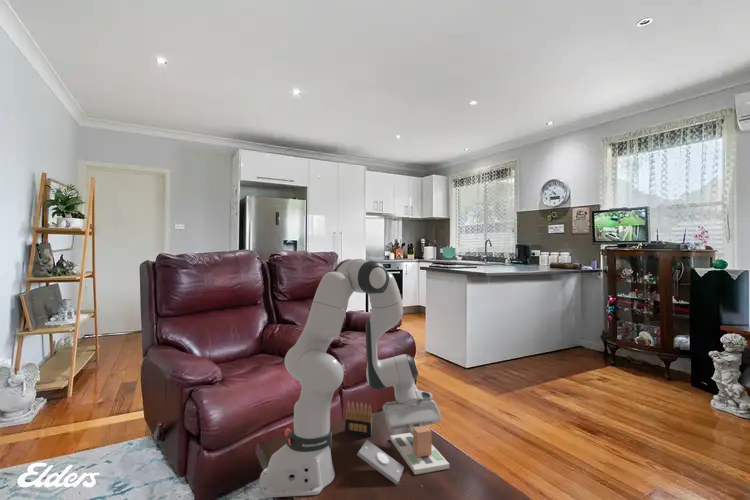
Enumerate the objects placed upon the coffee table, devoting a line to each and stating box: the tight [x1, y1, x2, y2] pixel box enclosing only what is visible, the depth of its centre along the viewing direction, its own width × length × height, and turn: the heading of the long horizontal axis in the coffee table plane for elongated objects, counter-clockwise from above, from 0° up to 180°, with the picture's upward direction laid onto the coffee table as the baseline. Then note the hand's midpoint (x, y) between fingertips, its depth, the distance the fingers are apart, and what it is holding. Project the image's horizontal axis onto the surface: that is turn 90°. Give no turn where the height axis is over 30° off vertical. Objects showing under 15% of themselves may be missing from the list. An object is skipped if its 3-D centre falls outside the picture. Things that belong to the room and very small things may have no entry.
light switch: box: [356, 439, 405, 486], centre depth 119 cm, size 8×6×14 cm
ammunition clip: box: [344, 400, 373, 437], centre depth 145 cm, size 11×2×12 cm, turn 73°
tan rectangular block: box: [413, 425, 433, 457], centre depth 127 cm, size 5×4×8 cm
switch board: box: [389, 432, 450, 475], centre depth 131 cm, size 12×23×2 cm, turn 17°
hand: (418, 438), depth 130 cm, fingers closed, pressing on tan rectangular block
